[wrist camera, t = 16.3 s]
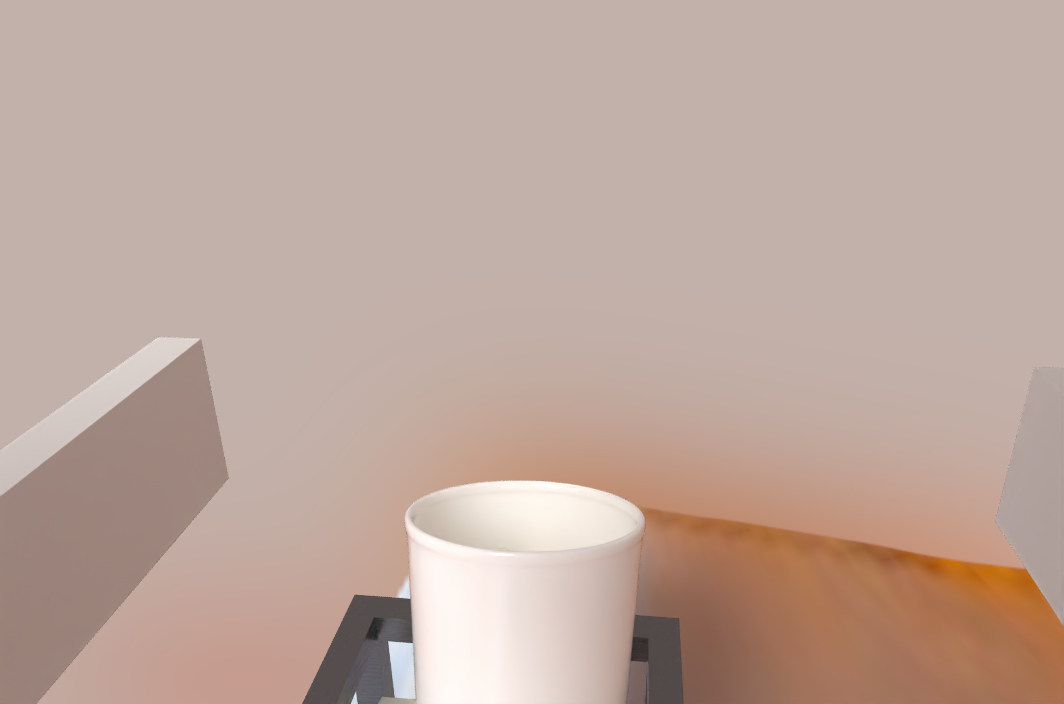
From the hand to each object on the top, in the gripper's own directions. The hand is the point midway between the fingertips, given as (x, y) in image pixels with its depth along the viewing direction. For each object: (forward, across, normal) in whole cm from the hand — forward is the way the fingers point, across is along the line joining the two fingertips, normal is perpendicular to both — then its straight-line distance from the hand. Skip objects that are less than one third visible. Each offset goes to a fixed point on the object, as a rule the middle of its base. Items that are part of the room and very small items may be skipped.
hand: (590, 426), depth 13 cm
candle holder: (+12, -4, -25) cm, 28 cm away
